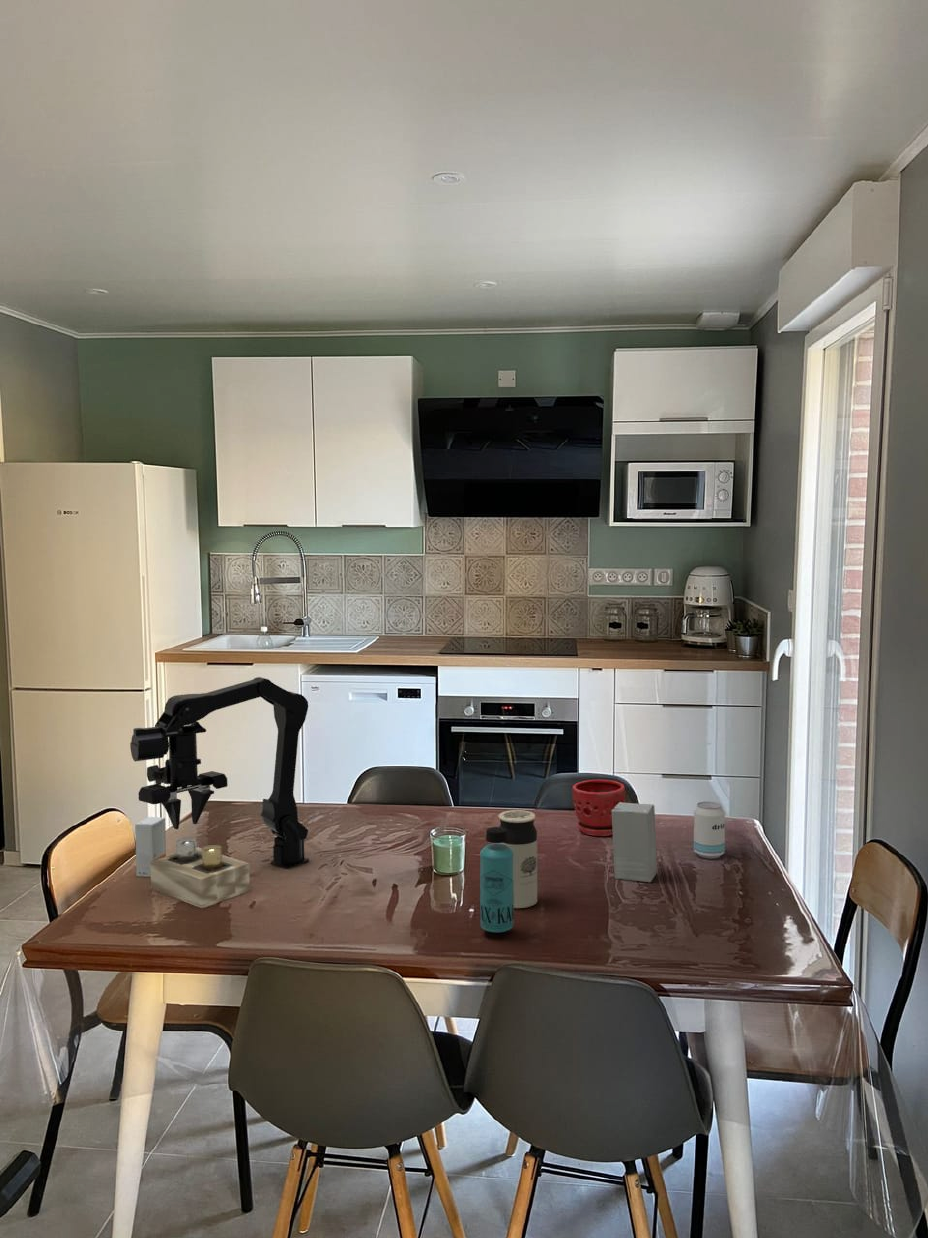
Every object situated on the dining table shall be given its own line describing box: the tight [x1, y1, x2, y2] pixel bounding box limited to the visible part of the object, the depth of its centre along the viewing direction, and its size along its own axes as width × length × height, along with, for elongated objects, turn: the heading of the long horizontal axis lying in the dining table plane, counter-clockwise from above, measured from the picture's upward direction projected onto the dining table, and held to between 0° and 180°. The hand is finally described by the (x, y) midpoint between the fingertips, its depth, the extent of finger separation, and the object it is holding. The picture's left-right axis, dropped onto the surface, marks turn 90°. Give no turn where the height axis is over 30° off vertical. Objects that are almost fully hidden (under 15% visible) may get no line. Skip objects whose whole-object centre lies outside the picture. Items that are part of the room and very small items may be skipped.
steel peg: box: [176, 836, 197, 863], centre depth 199 cm, size 4×4×5 cm
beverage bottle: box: [478, 826, 515, 933], centre depth 172 cm, size 6×7×20 cm
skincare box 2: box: [612, 802, 658, 883], centre depth 201 cm, size 8×7×16 cm
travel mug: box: [497, 809, 538, 909], centre depth 187 cm, size 8×8×18 cm
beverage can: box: [693, 801, 726, 860], centre depth 214 cm, size 7×7×12 cm
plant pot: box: [572, 779, 626, 837], centre depth 234 cm, size 13×13×12 cm
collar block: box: [150, 846, 251, 909], centre depth 197 cm, size 12×18×6 cm, turn 51°
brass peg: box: [202, 844, 223, 872], centre depth 193 cm, size 4×4×5 cm
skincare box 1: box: [134, 816, 167, 878], centre depth 208 cm, size 6×4×12 cm
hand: (185, 826), depth 199 cm, fingers open, 4 cm apart
